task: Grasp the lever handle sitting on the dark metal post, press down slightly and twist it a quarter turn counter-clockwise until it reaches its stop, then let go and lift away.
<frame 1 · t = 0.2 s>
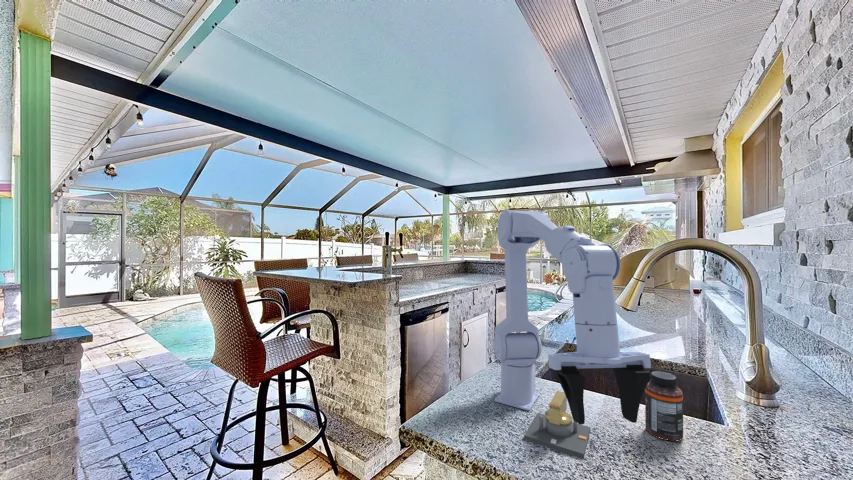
hand: (604, 420, 47), 11 cm above the worktop, tool pointing down, fingers open, 7 cm apart
lever handle: (558, 408, 63), point 5 cm above the worktop, hinge at 0.0°
supplement bottle: (663, 434, 63), on the worktop
post base: (558, 435, 62), on the worktop
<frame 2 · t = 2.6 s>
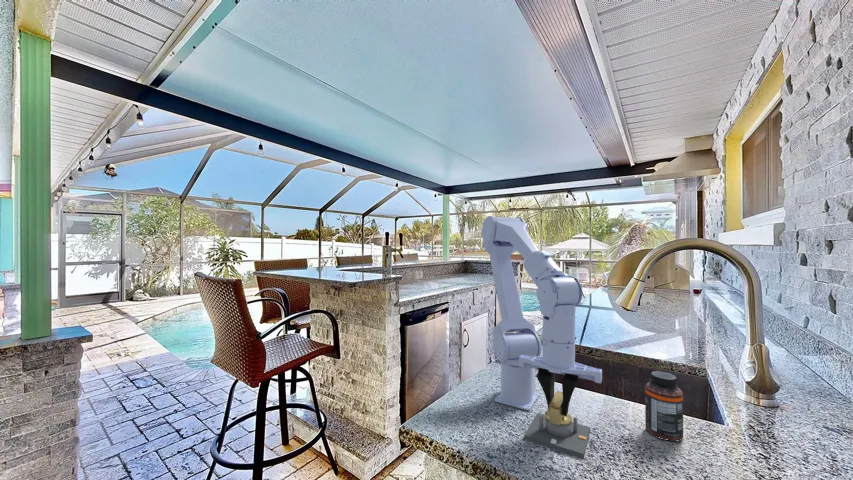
hand: (558, 411, 63), 4 cm above the worktop, tool pointing down, fingers closed on lever handle, 2 cm apart
lever handle: (558, 408, 63), point 5 cm above the worktop, hinge at 0.0°, touching gripper
everything else where it was.
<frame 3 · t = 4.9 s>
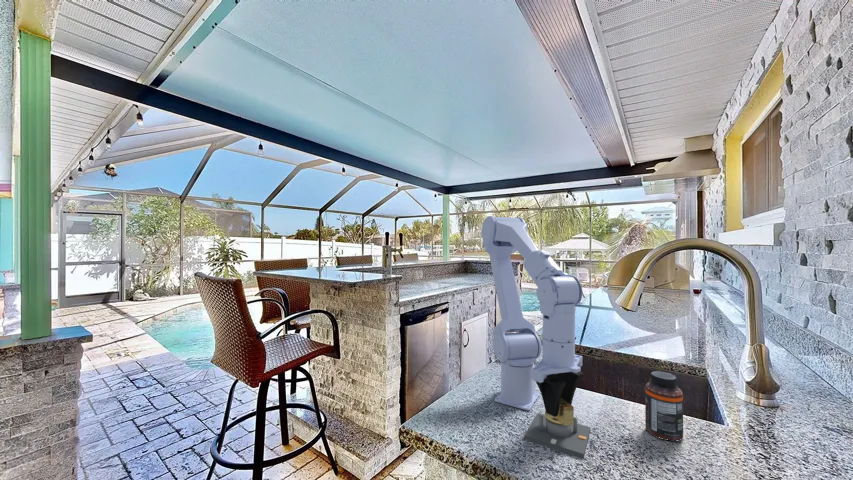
hand: (557, 410, 63), 5 cm above the worktop, tool pointing down, fingers closed on lever handle, 4 cm apart
lever handle: (558, 408, 63), point 5 cm above the worktop, hinge at 40.7°, touching gripper
everything else where it was.
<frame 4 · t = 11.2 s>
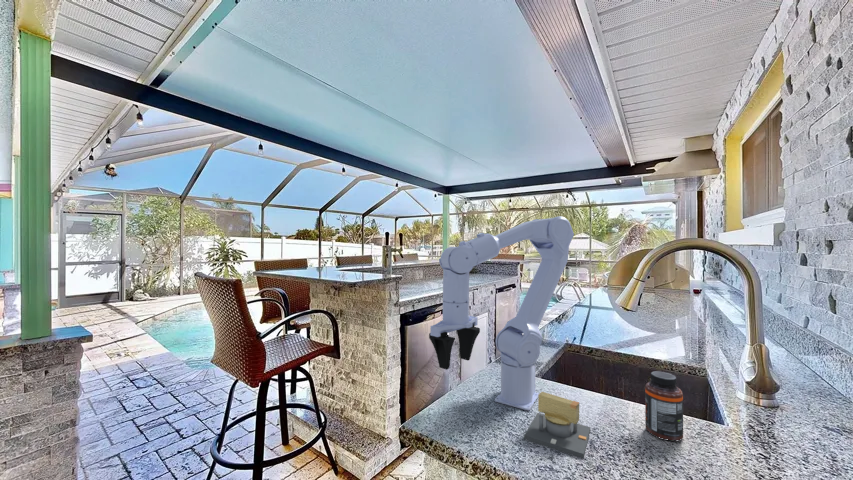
hand: (455, 363, 72), 10 cm above the worktop, tool pointing down, fingers open, 7 cm apart
lever handle: (558, 408, 63), point 5 cm above the worktop, hinge at 81.2°
everything else where it was.
at the end: lever handle at +81° (first picture: +0°); the gripper is holding nothing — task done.
